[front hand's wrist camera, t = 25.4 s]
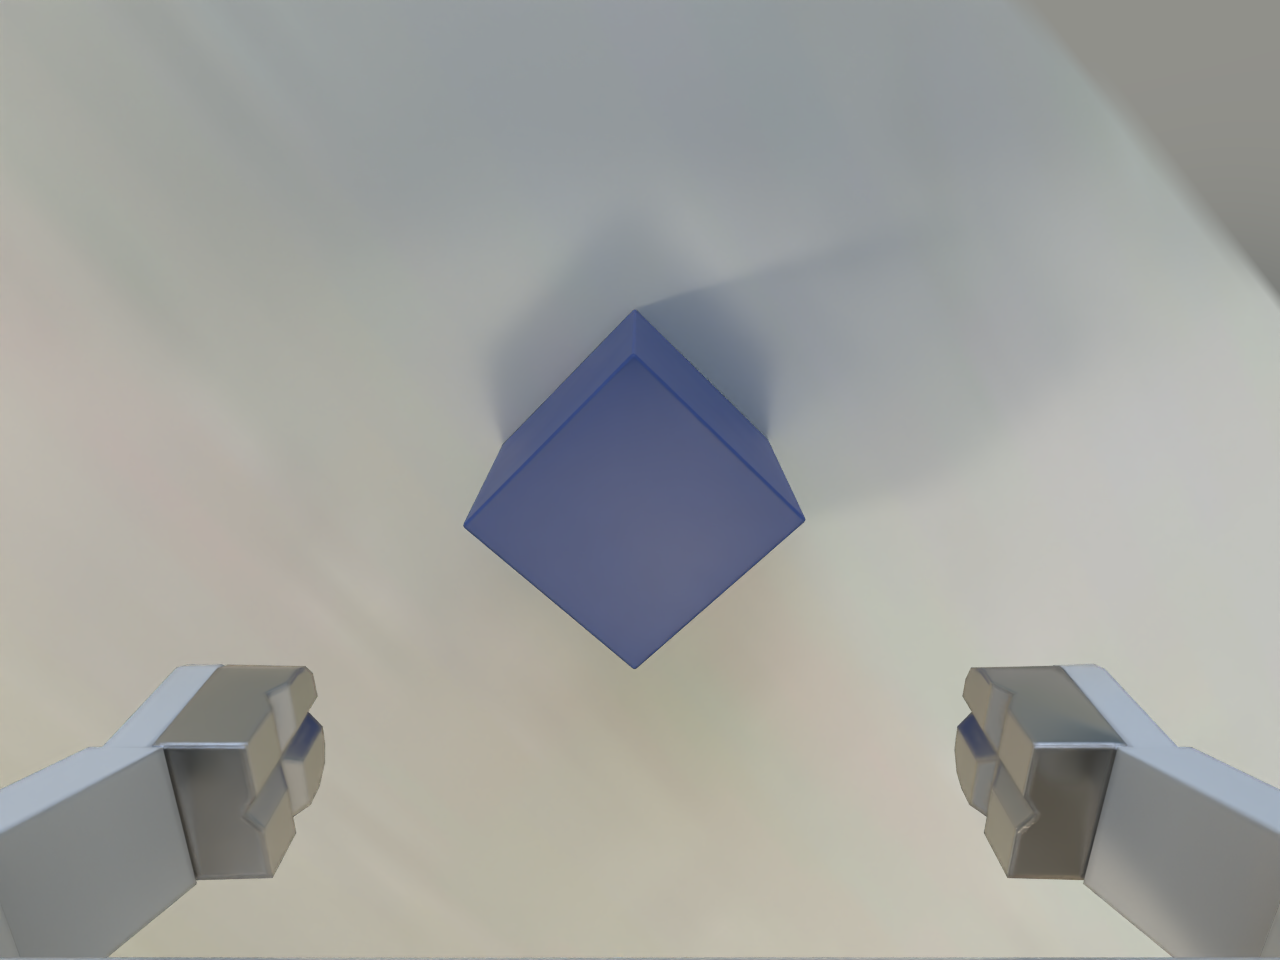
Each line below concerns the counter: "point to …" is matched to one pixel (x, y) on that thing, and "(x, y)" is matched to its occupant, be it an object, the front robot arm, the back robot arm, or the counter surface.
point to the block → (634, 494)
